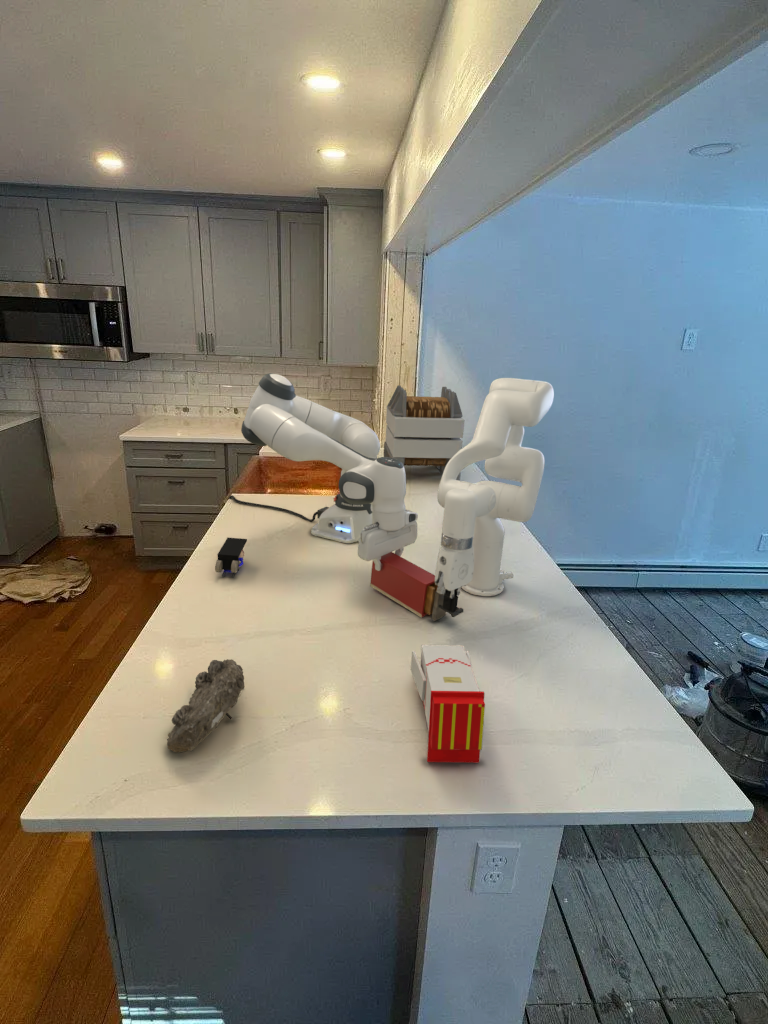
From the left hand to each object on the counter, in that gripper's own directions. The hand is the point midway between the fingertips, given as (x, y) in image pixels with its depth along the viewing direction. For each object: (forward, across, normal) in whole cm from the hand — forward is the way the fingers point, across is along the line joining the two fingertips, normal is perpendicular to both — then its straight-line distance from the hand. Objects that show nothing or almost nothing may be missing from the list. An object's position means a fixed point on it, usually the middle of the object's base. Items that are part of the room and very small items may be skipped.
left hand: (387, 565), depth 156 cm
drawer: (+8, 0, -13) cm, 15 cm away
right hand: (+4, -2, -23) cm, 23 cm away
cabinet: (+8, 0, -6) cm, 9 cm away
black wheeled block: (+7, -24, +41) cm, 47 cm away
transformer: (+6, +101, +73) cm, 125 cm away
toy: (+9, -28, -41) cm, 51 cm away
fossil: (+8, -62, -12) cm, 63 cm away
